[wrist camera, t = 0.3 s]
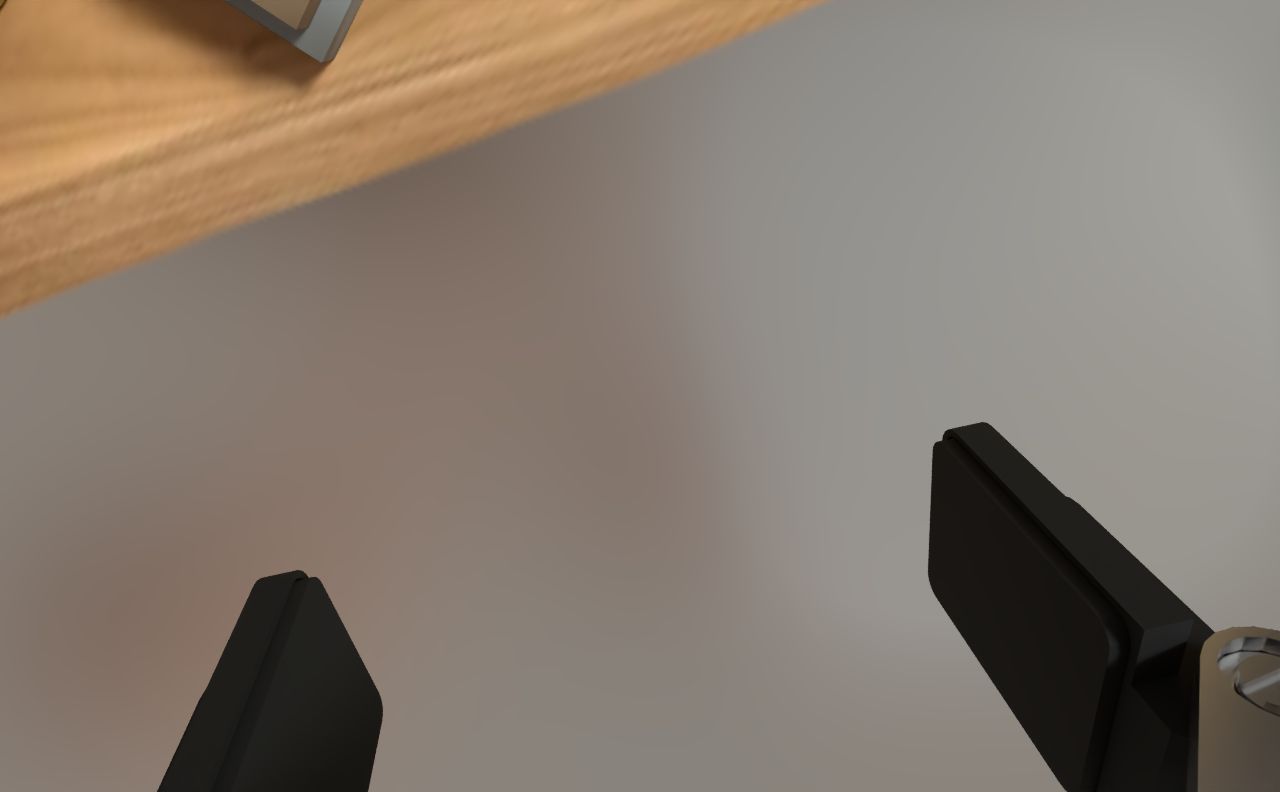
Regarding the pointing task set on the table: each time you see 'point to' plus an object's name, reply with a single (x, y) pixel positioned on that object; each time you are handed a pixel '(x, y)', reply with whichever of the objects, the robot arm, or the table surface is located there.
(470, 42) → the table surface
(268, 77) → the table surface
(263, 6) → the stand
